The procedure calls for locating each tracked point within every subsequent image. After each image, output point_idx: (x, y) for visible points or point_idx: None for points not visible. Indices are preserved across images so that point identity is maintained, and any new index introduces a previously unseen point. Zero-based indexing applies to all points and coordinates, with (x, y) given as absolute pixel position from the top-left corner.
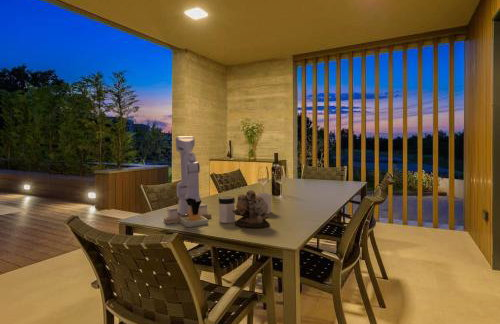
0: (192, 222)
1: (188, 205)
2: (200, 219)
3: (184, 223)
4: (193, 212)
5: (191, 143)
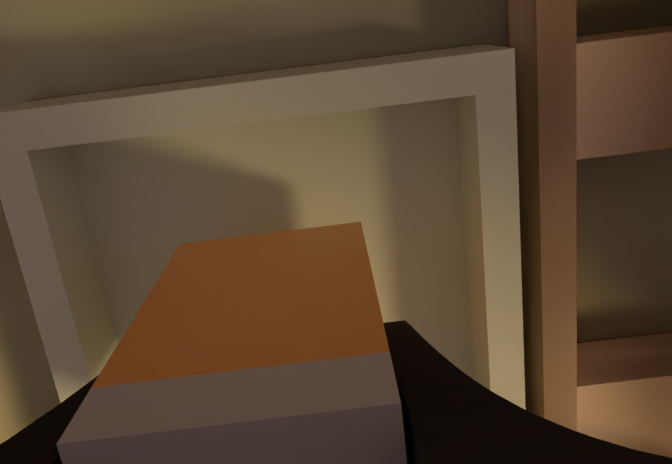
0: (21, 237)
1: (395, 406)
2: None
3: (189, 84)
4: None
5: None
